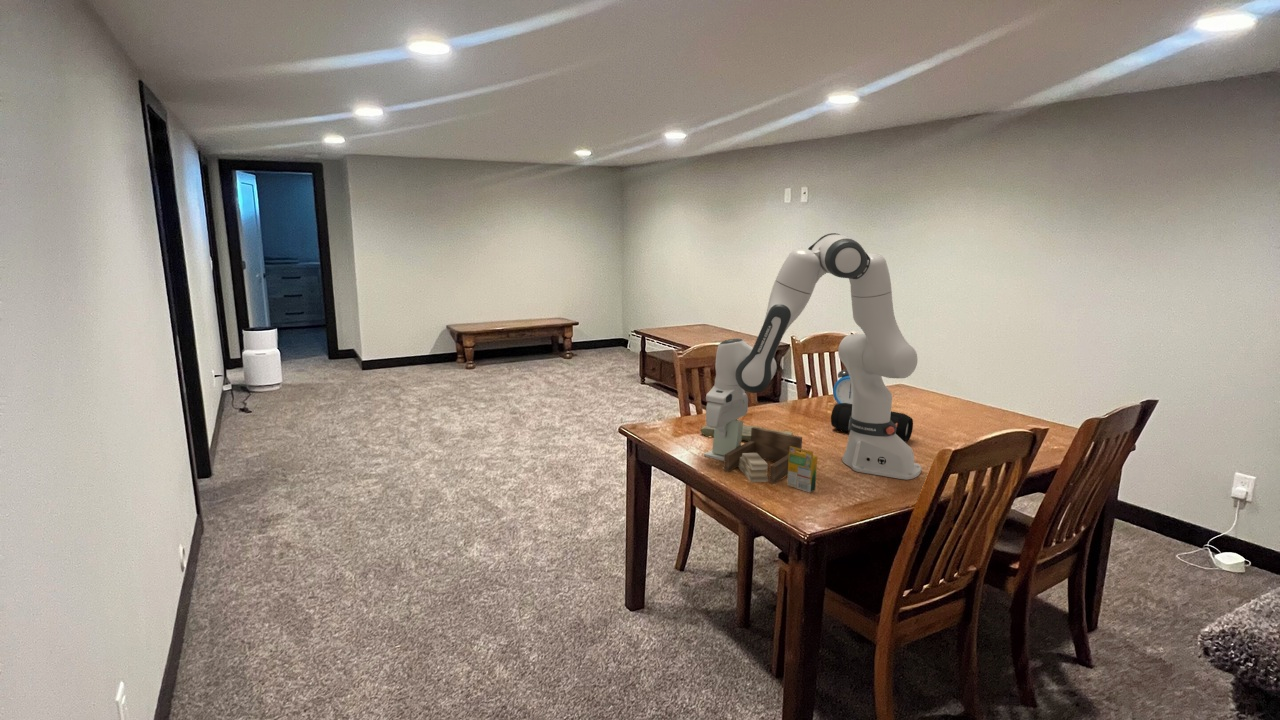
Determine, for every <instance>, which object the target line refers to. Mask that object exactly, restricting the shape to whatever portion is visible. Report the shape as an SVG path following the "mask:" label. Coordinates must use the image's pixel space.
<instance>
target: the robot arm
mask: <svg viewBox="0 0 1280 720" xmlns="http://www.w3.org/2000/svg"><path fill="white" fill-rule="evenodd" d="M826 274H831V275H832V276H835V277H837V278H841V279H848V282H849V285H850V297H851V307H852V308H851V309H852V319H853V321H854V322H855V324H856V325H857V326H858V327H859V328H860V329H861V331H862V332H863V333H855V334H854V333H852V334H851V333H850V334H848V335H846V336H844V337H843V339H841V341H840V343H839V344H838V349H837V350H838V351H837V352H838V358H839V360H840V361H841V363H842V364H843V365H844V367H845V368H846V369H845V370H847V371H848V373H849V376H850V380H851V384H852V390H853V401H852V416H850V420H849V433H848V440H847V444H846V448H845V451H844V454H843V456H842V459H841V461H842V463H844V465H847V466H848V467H850V468H851V470H852V471H853V472H856V473H857V472H858V473H862V474H863V473H864V474H868V475H874V476H883V477H888V478H894V479H900V480H912V479H916V478H917V477H918V476H919V475H920V474H921V473H922V466H921V465H920V463H917V462H915V455H914V451H913V449H912V447H911V446H910V445H909V444H908V443H907V442H904V441H903V440H902V439H901V438H900V437H899V436H898V435H897V434H896V427H897V423H896V424H894V423H893V422H892V421H891V420H890V416H891V411H892V404H893V395H892V393H891V390H889V388H888V387H887V386H886V384H885V382H884V379H883V377H885V378H888V379H906V378H909V377H910V376H911V375H912V374H913V373H914V372H915V370H916V368H917V364H918V354H917V351H916V349H915V348H914V347H913V346H912V345H911V344H910V343H909V342H908V341H907V340H906V339H905V336H903V333H902V331H901V329H900V327H899V326H898V323H897V320H896V317H895V312H894V303H893V294H892V293H893V291H892V283H891V276H890V272H889V267H888V264H887V261H886V259H885V257H883V256H882V255H880V254H878V253H874V252H866V251H865V249H864V247H863V246H862V245H861V244H860V243H859V242H857V241H856V240H855V239H853V238H851V237H849V236H848V235H844V234H840V233H835V232H834V233H827V234H824V235H823V236H821V237H819V239H818V240H816V241H815V242H814V243H813V244H812V245H810V246H809V247H808V248H804V247H801V248H796V249H793V250H792V251H791V252H790V253H789V254H788V255H787V257H786V258H785V260H784V262H783V263H782V265H781V267H780V269H779V271H778V273H777V276H776V277H775V280H774V283H773V285H772V288H771V292H770V294H769V295H770V296H769V298H768V304H767V308H766V312H765V313H766V314H765V317H764V320H763V324H762V326H761V329H760V331H759V333H758V335H757V338H756V340H755V342H754V345H753V346H752V345H750V344H748V343H747V342H746V341H745V340H744V339H742V338H729V339H725V340H723V341H722V342H720V343H719V344H718V346H717V349H716V355H715V366H714V367H715V374H716V375H715V377H714V385H713V386H712V388H711V389H710V390H709V391H708V392H707V393H706V396H705V400H706V402H707V403H706V406H705V407H706V408H705V423H706V425H707V426H708V427H712V428H718V429H719V431H720V437H722V438H724V437H726V436H727V431H726V430H725V427H726V424H727V423H730V422H731V421H732V420H738V419H741V418H742V417H745V416H746V415H747V414H748V409H749V407H748V405H749V403H748V401H749V400H748V395H747V393H746V392H748V393H751V394H758V393H761V392H764V391H765V390H766V389H767V388H768V387H769V385H770V383H771V380H772V379H773V378H774V376H775V375H776V373H777V370H778V366H777V365H778V364H777V360H776V359H775V355H776V352H777V350H778V347H779V345H780V343H781V341H782V339H783V337H784V334H785V333H786V332H787V330H788V329H789V327H791V325H792V324H793V323H794V322H795V320H797V319H798V318H799V316H800V315H801V314H802V312H803V311H804V310H805V308H806V307H807V304H808V303H809V301H810V299H811V297H812V294H813V292H814V290H815V287H816V285H817V283H818V282H819V280H821V278H822V277H823V276H825V275H826Z"/></svg>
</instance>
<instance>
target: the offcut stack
mask: <svg viewBox="0 0 1280 720" xmlns="http://www.w3.org/2000/svg"><path fill="white" fill-rule="evenodd" d="M768 466H769V464H768V463H767V462H766V461H765V459H762V458H761V457H760V456H759V455H758V454H757V453H742V457H740V460H739V466H738V469H739V470H740V472H742V473H743V475H744V476H745V477H746V478H747V479H748V481H749V482H750V483H765V482H766V483H767V482H769V478H770V475H769V474H768V468H769V467H768Z"/></svg>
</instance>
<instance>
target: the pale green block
mask: <svg viewBox="0 0 1280 720" xmlns="http://www.w3.org/2000/svg"><path fill="white" fill-rule="evenodd" d="M743 425H744V421H743V420H738V419H737V420H732V421H731V422H730V423H727V424H726V427H725V430H726V431H727V436H726V437H724V438H722V437H720V431H719V429H718V428H715V429H714V437H713V438H712V439H713V440H712V449H711V450H712V453H716V454H720V455H725V454H726V453H728V452H730V451H732V450H734V449H736V448H738V447H739V446H741V445H742V440H741V439H742V430H743Z"/></svg>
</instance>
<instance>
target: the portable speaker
mask: <svg viewBox="0 0 1280 720" xmlns="http://www.w3.org/2000/svg"><path fill="white" fill-rule="evenodd" d="M830 414H831V415H830V424H831V426H832V427H833V428H835V429H836V430H838V431H840V432H843V433H844V432H845V433H848V432H849V420H850V416H852V404H849V403H840V404H838V403H836V404H835V405H834V406H833V408H832V411H831V413H830ZM890 420H891V421H892V422H893V423H894V424H896V423H897V427H896V434H897V435H898V436H899V437H900V438H901V439H902V440H903V441H904V442H905V443H907V442H909V441H910V439H911V437H912V433H913V429H914V419H913V418H912V417H911V416H910V415H908V414H905V413H902V412H897V411H892V410H891V416H890Z"/></svg>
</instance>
